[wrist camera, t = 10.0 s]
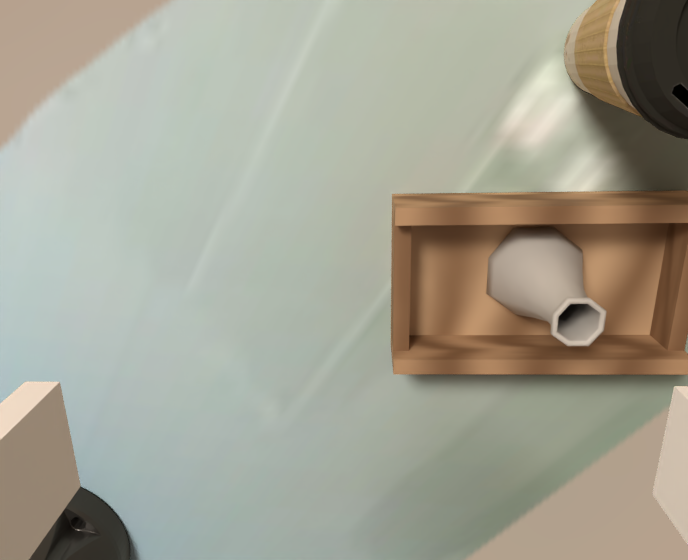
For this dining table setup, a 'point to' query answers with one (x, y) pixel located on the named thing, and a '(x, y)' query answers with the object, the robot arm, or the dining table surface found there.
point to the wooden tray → (527, 332)
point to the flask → (545, 283)
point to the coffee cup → (634, 58)
